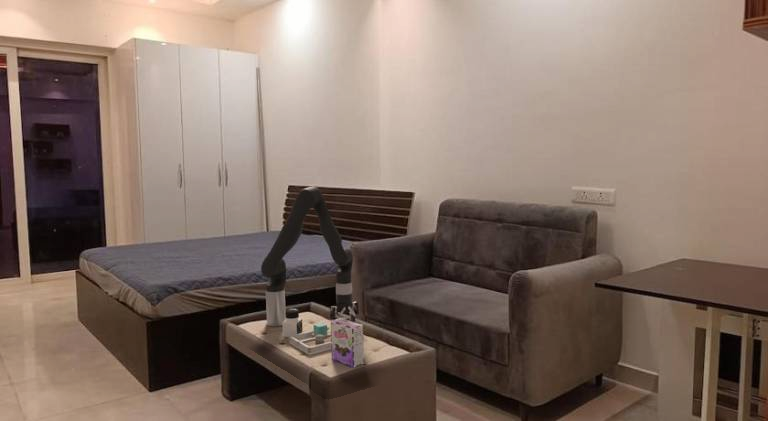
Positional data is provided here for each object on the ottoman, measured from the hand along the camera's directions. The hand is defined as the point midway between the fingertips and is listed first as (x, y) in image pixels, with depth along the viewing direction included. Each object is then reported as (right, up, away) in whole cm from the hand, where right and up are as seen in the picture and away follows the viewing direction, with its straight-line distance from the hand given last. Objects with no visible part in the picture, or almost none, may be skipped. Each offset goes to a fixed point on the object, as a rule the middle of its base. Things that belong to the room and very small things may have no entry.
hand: (345, 325), depth 257 cm
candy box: (+3, -8, -34) cm, 35 cm away
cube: (-11, -2, -7) cm, 13 cm away
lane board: (-11, -5, -13) cm, 17 cm away
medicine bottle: (-24, -4, -1) cm, 25 cm away
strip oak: (-6, -4, -4) cm, 8 cm away
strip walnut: (-8, -5, -16) cm, 19 cm away
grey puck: (-10, -3, -18) cm, 21 cm away
